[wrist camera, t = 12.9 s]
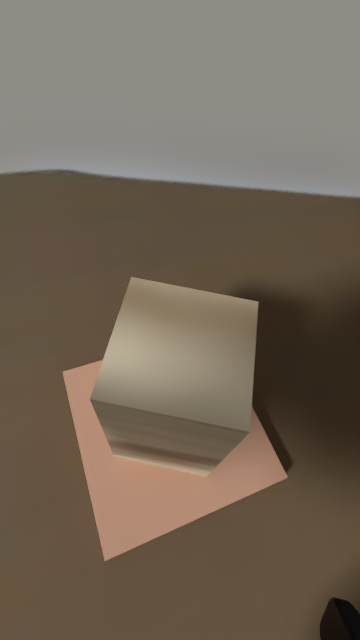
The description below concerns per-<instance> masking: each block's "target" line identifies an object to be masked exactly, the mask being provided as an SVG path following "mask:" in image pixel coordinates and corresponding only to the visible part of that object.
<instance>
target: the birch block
mask: <svg viewBox="0 0 360 640" xmlns="http://www.w3.org/2000/svg"><path fill="white" fill-rule="evenodd" d="M257 317H258V301H252V300H247V299H242V298H237V297H232V296H227V295H221V294H216V293H211V292H206V291H201V290H196V289H190V288H185V287H180V286H175V285H170V284H165V283H159V282H154V281H149V280H144V279H139V278H134V277H131V280H130V282H129V285H128V288H127V291H126V294H125V297H124V300H123V303H122V306H121V309H120V312H119V315H118V318H117V321H116V323H115V326H114V329H113V332H112V335H111V338H110V341H109V344H108V347H107V350H106V353H105V356H104V359H103V362H102V364H101V367H100V370H99V373H98V376H97V379H96V382H95V385H94V388H93V391H92V394H91V397H90V401H91V403H92V406H93V408H94V410H95V413H96V415H97V418H98V420H99V422H100V425H101V427H102V429H103V432H104V434H105V436H106V439H107V441H108V443H109V446H110V448H111V450H112V453H113V455H114V457H116V458H121V459H125V460H130V461H135V462H140V463H145V464H149V465H154V466H159V467H164V468H168V469H173V470H178V471H183V472H187V473H192V474H197V475H202V476H207V475H208V474H209V473H210V472H211V471H212V470H213V469H214V468H215V467H216V466H217V465H218V464H219V463H220V462H221V461H222V460H223V459H224V458H225V457H226V456H227V455H228V454H229V453H230V452H231V451H232V450H233V449H234V448H235V447H236V446H237V445H238V444H239V443H240V442H241V441H242V440H243V439H244V438H245V437H246V436H247V435H248V434H249V433H250V425H251V410H252V394H253V379H254V363H255V348H256V332H257Z"/></svg>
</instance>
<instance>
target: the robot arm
mask: <svg viewBox="0 0 360 640" xmlns="http://www.w3.org/2000/svg"><path fill="white" fill-rule="evenodd" d="M320 637H321V640H360V614H359V613H358V611H357V610H356V609H355V608H354V607H353V605H352V604H351V603H350V602H348V601H346V600H342V599H338V598H335V597H332V598H331V599H330V600H329V602H328V604H327V607H326V609H325V612H324V615H323V617H322V620H321V623H320Z"/></svg>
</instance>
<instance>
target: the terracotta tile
mask: <svg viewBox="0 0 360 640" xmlns="http://www.w3.org/2000/svg"><path fill="white" fill-rule="evenodd" d="M102 362H103V360H101V361H97V362H94V363H91V364H87V365H84V366H81V367H77V368H74V369H71V370H67V371H64V372H63V376H64V380H65V385H66V389H67V394H68V398H69V403H70V407H71V412H72V416H73V421H74V425H75V430H76V434H77V439H78V443H79V448H80V452H81V457H82V461H83V465H84V470H85V474H86V479H87V483H88V488H89V492H90V497H91V501H92V506H93V510H94V515H95V519H96V524H97V528H98V533H99V537H100V542H101V546H102V551H103V555H104V560H105V561H106V560H108V559H111V558H113V557H115V556H117V555H119V554H122V553H124V552H126V551H128V550H130V549H133V548H135V547H137V546H139V545H141V544H143V543H146V542H148V541H150V540H152V539H154V538H157V537H159V536H161V535H163V534H165V533H168V532H170V531H172V530H174V529H176V528H178V527H181V526H183V525H185V524H187V523H189V522H192V521H194V520H196V519H198V518H200V517H203V516H205V515H207V514H209V513H211V512H214V511H216V510H218V509H220V508H222V507H224V506H227V505H229V504H231V503H233V502H235V501H238V500H240V499H242V498H244V497H246V496H249V495H251V494H253V493H255V492H257V491H260V490H262V489H264V488H266V487H268V486H270V485H273V484H275V483H277V482H279V481H281V480H284V479H286V478H288V477H287V475H286V473H285V471H284V469H283V467H282V465H281V463H280V461H279V459H278V457H277V455H276V453H275V451H274V449H273V447H272V445H271V443H270V441H269V439H268V437H267V435H266V433H265V431H264V429H263V427H262V425H261V423H260V421H259V419H258V417H257V415H256V413H255V411H254V409H253V407H252V410H251V425H250V433H249V434H248V435H247V436H246V437H245V438H244V439H243V440H242V441H241V442H240V443H239V444H238V445H237V446H236V447H235V448H234V449H233V450H232V451H231V452H230V453H229V454H228V455H227V456H226V457H225V458H224V459H223V460H222V461H221V462H220V463H219V464H218V465H217V466H216V467H215V468H214V469H213V470H212V471H211V472H210V473H209V474H208V475H207V476H202V475H197V474H192V473H187V472H183V471H178V470H173V469H168V468H164V467H159V466H154V465H149V464H145V463H140V462H135V461H130V460H125V459H121V458H116V457H114V455H113V453H112V450H111V448H110V446H109V443H108V441H107V439H106V436H105V434H104V432H103V429H102V427H101V425H100V422H99V420H98V418H97V415H96V413H95V410H94V408H93V406H92V403H91V401H90V397H91V394H92V391H93V388H94V385H95V382H96V379H97V376H98V373H99V370H100V367H101V364H102Z"/></svg>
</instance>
